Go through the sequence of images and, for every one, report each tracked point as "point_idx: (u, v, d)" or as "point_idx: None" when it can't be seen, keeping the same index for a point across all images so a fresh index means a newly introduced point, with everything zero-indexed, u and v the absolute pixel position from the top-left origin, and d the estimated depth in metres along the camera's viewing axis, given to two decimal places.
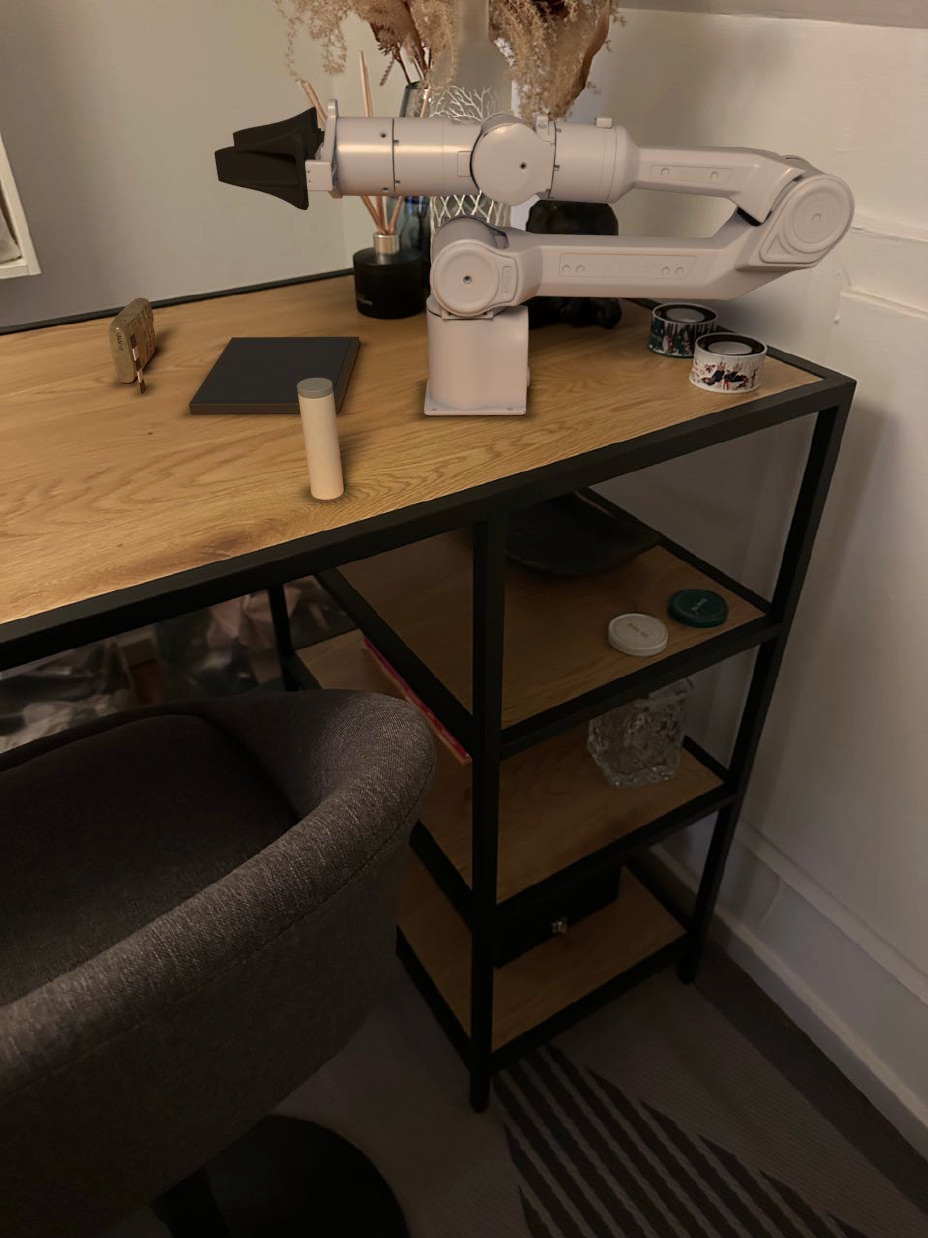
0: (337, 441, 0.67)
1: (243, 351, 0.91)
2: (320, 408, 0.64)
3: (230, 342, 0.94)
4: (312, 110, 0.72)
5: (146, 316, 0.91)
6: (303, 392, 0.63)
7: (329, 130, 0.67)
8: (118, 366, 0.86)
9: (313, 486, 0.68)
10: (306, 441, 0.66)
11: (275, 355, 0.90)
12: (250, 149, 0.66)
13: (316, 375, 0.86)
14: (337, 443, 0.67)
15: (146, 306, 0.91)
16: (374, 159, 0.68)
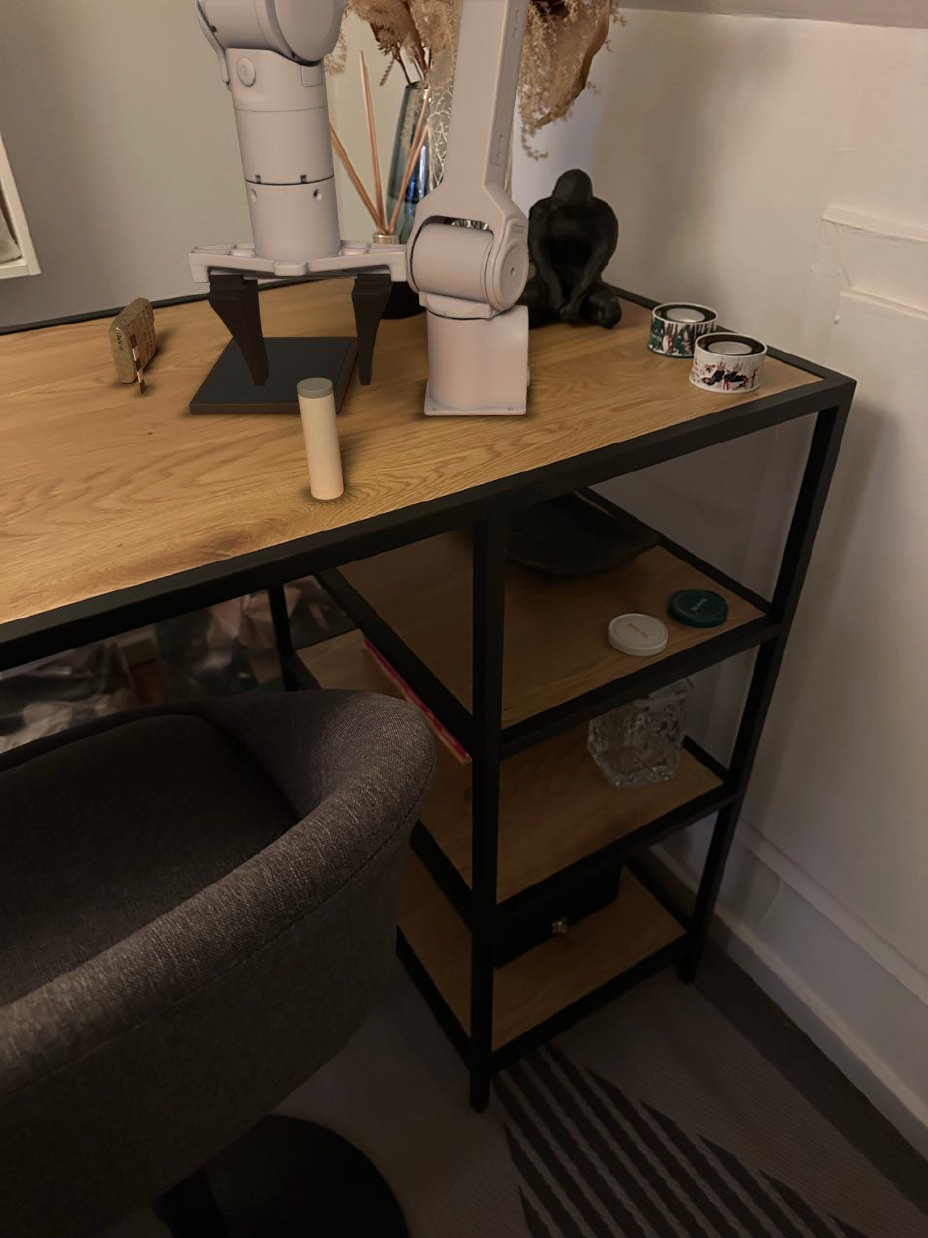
0: (337, 441, 0.67)
1: None
2: (320, 408, 0.64)
3: (230, 342, 0.94)
4: (238, 298, 0.58)
5: (147, 316, 0.91)
6: (303, 392, 0.63)
7: (332, 264, 0.57)
8: (118, 366, 0.86)
9: (313, 486, 0.68)
10: (306, 441, 0.66)
11: (275, 355, 0.90)
12: (372, 347, 0.61)
13: (316, 375, 0.86)
14: (337, 443, 0.67)
15: (147, 306, 0.91)
16: (335, 201, 0.56)
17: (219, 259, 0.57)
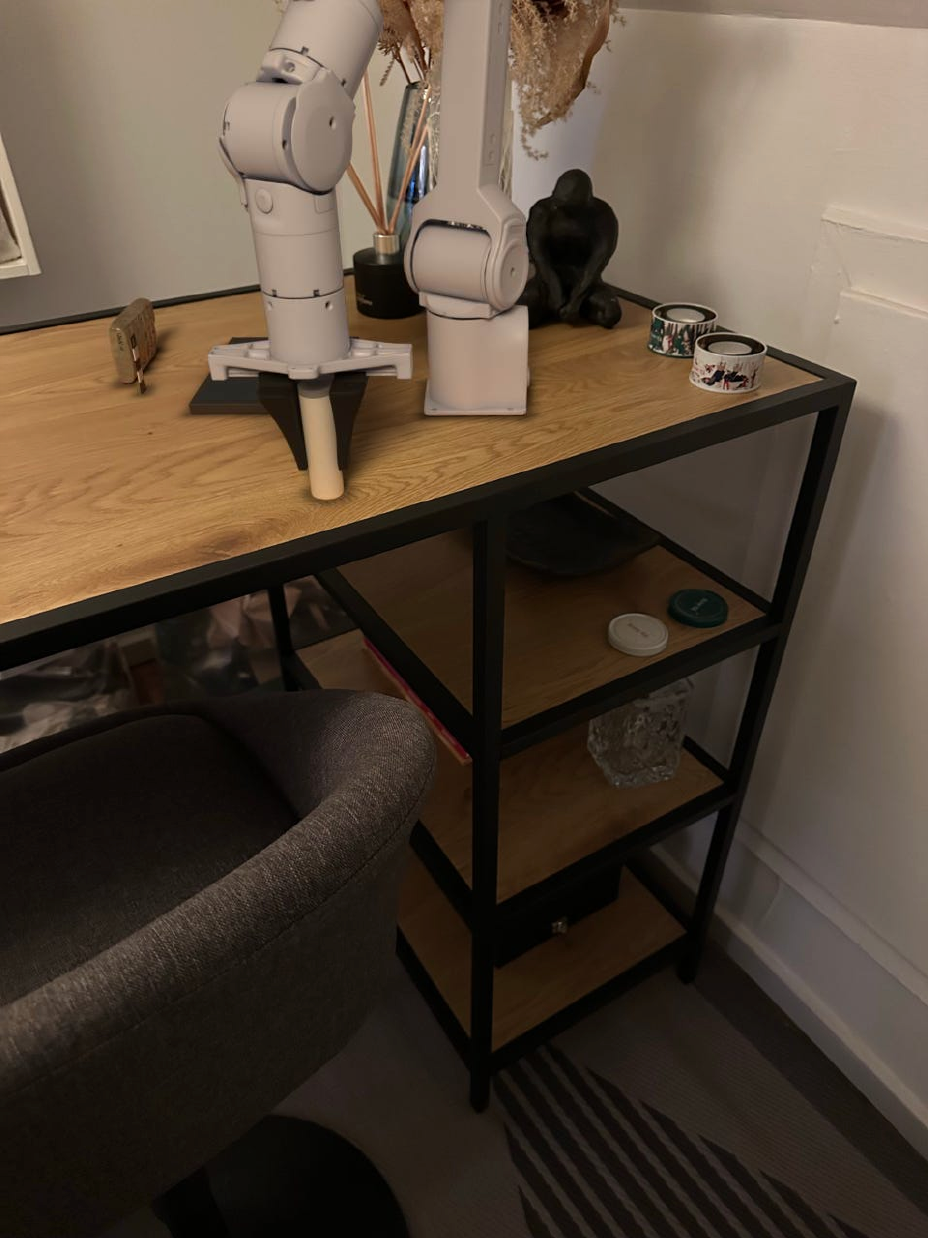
0: None
1: None
2: (321, 408, 0.64)
3: (230, 342, 0.94)
4: (286, 396, 0.62)
5: (147, 316, 0.90)
6: (303, 392, 0.63)
7: (342, 366, 0.61)
8: (118, 366, 0.86)
9: (314, 486, 0.68)
10: (307, 441, 0.66)
11: None
12: (349, 437, 0.65)
13: None
14: None
15: (147, 306, 0.91)
16: (344, 308, 0.60)
17: (237, 360, 0.62)
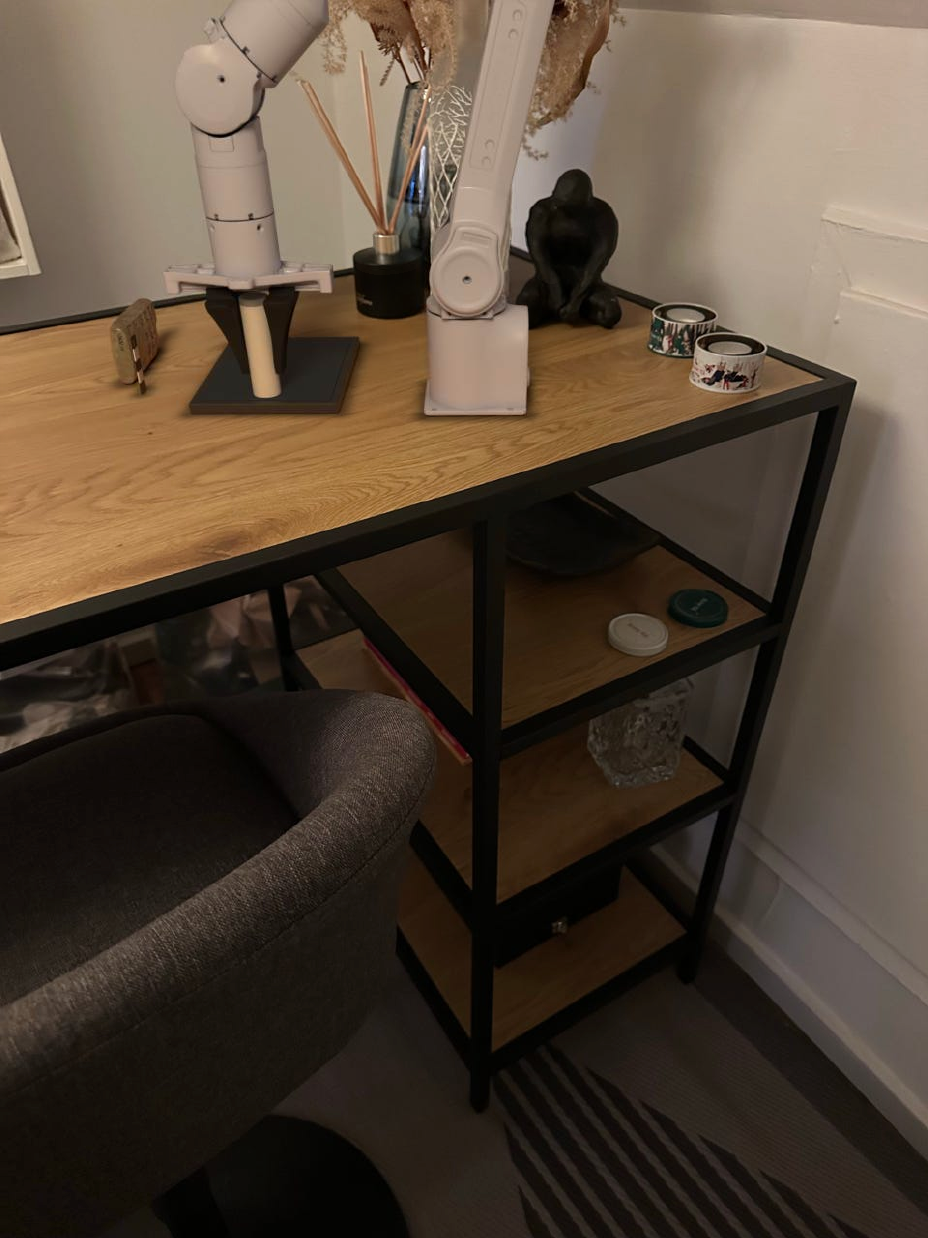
0: None
1: None
2: (258, 315, 0.77)
3: None
4: (228, 306, 0.75)
5: (148, 317, 0.90)
6: (243, 301, 0.77)
7: (273, 280, 0.74)
8: (119, 367, 0.86)
9: (255, 386, 0.81)
10: (247, 345, 0.79)
11: None
12: None
13: (316, 375, 0.86)
14: None
15: (149, 307, 0.91)
16: (275, 232, 0.74)
17: (187, 276, 0.75)
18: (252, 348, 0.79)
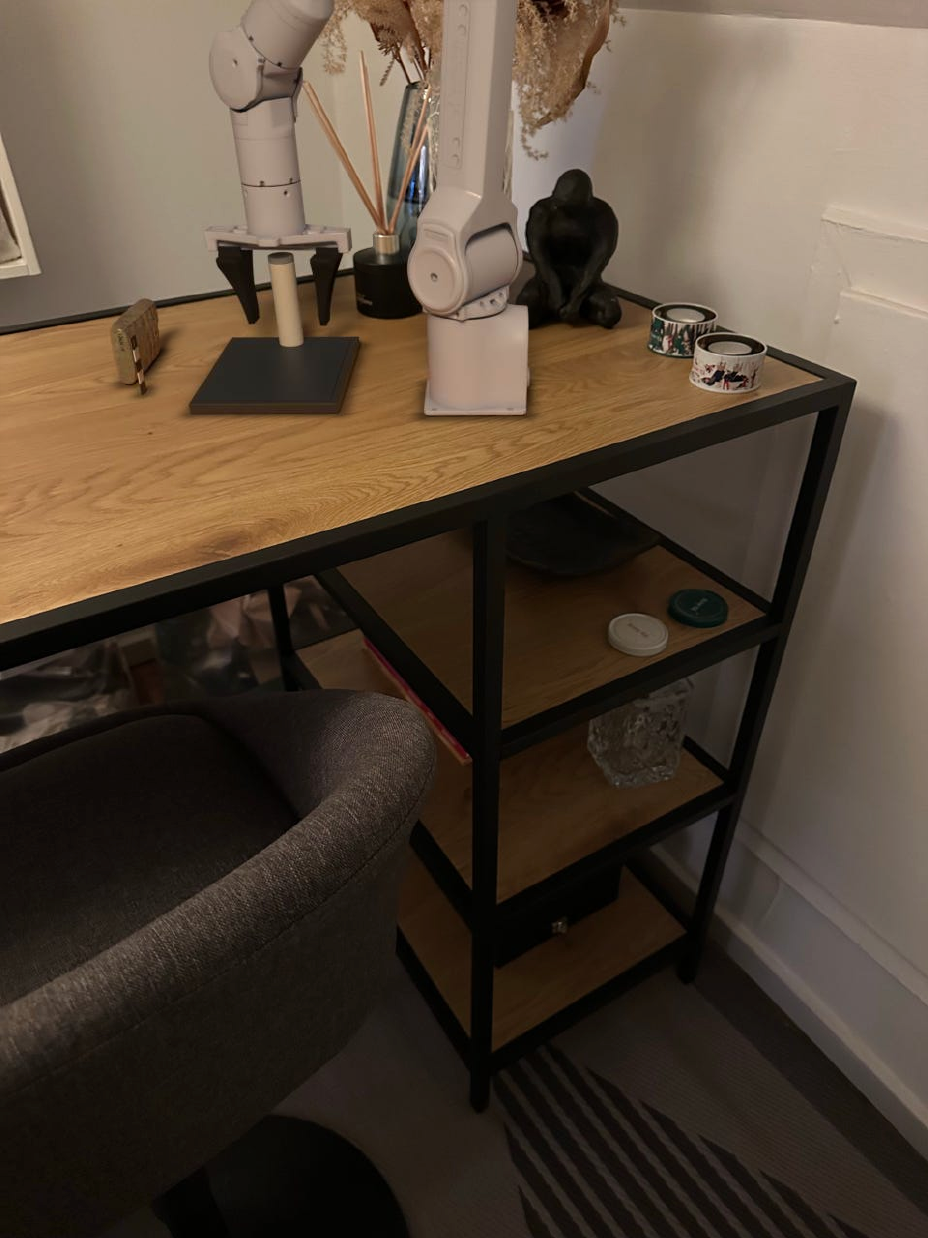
0: (297, 301, 0.90)
1: (243, 351, 0.91)
2: (283, 272, 0.88)
3: (230, 342, 0.94)
4: (235, 261, 0.86)
5: (150, 317, 0.90)
6: (271, 259, 0.87)
7: (297, 240, 0.85)
8: (120, 367, 0.86)
9: (280, 336, 0.92)
10: (274, 299, 0.90)
11: (275, 355, 0.90)
12: (326, 298, 0.89)
13: (316, 375, 0.86)
14: (297, 302, 0.90)
15: (150, 307, 0.91)
16: (300, 197, 0.84)
17: (224, 235, 0.86)
18: (278, 301, 0.90)
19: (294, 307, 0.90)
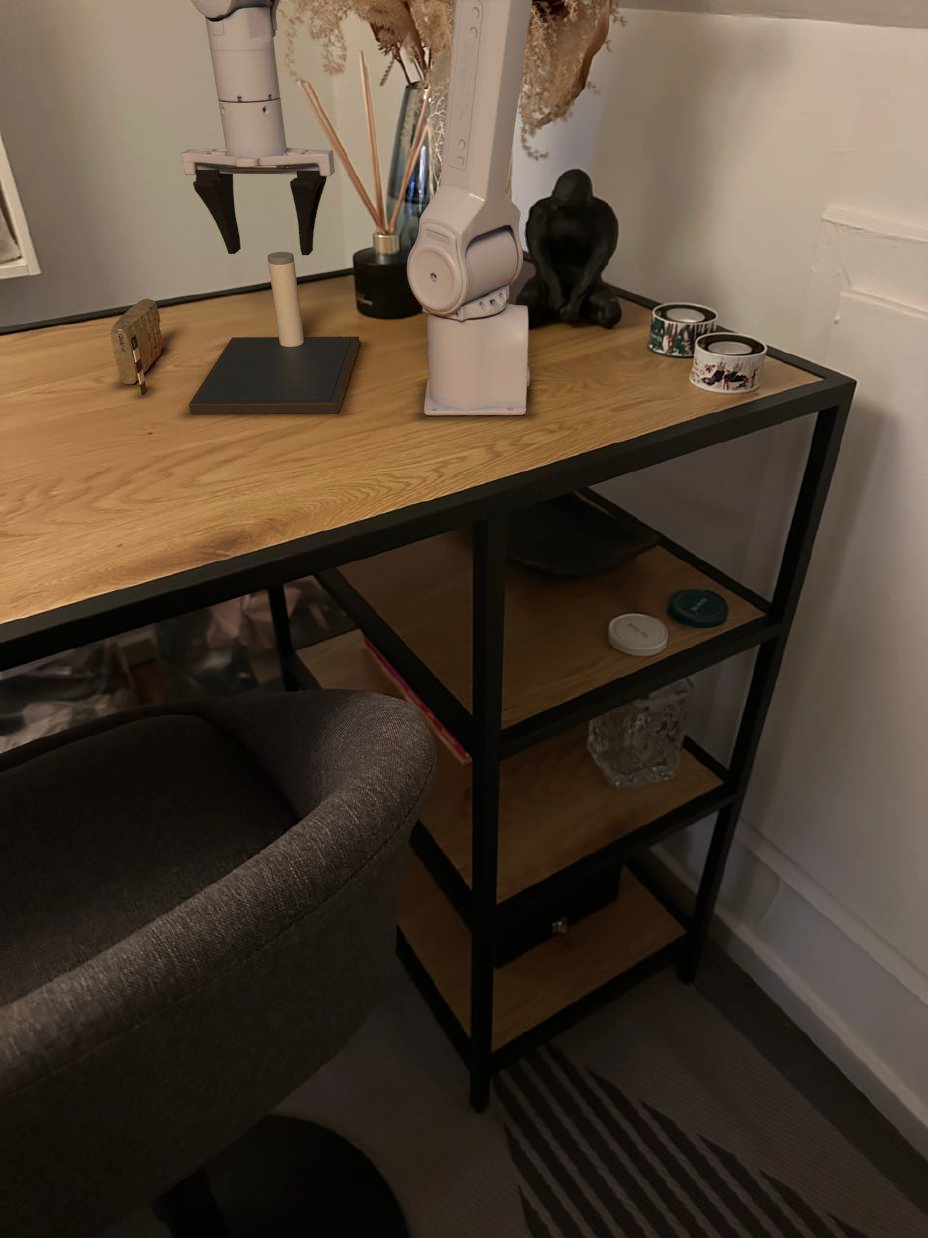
0: (297, 301, 0.90)
1: (243, 351, 0.91)
2: (283, 272, 0.88)
3: (230, 342, 0.94)
4: (213, 184, 0.83)
5: (151, 317, 0.90)
6: (271, 259, 0.87)
7: (277, 161, 0.82)
8: (120, 367, 0.86)
9: (280, 336, 0.92)
10: (274, 299, 0.90)
11: (275, 355, 0.90)
12: (308, 225, 0.86)
13: (316, 375, 0.86)
14: (297, 302, 0.90)
15: (152, 307, 0.91)
16: (280, 116, 0.81)
17: (202, 157, 0.83)
18: (278, 301, 0.90)
19: (294, 307, 0.90)
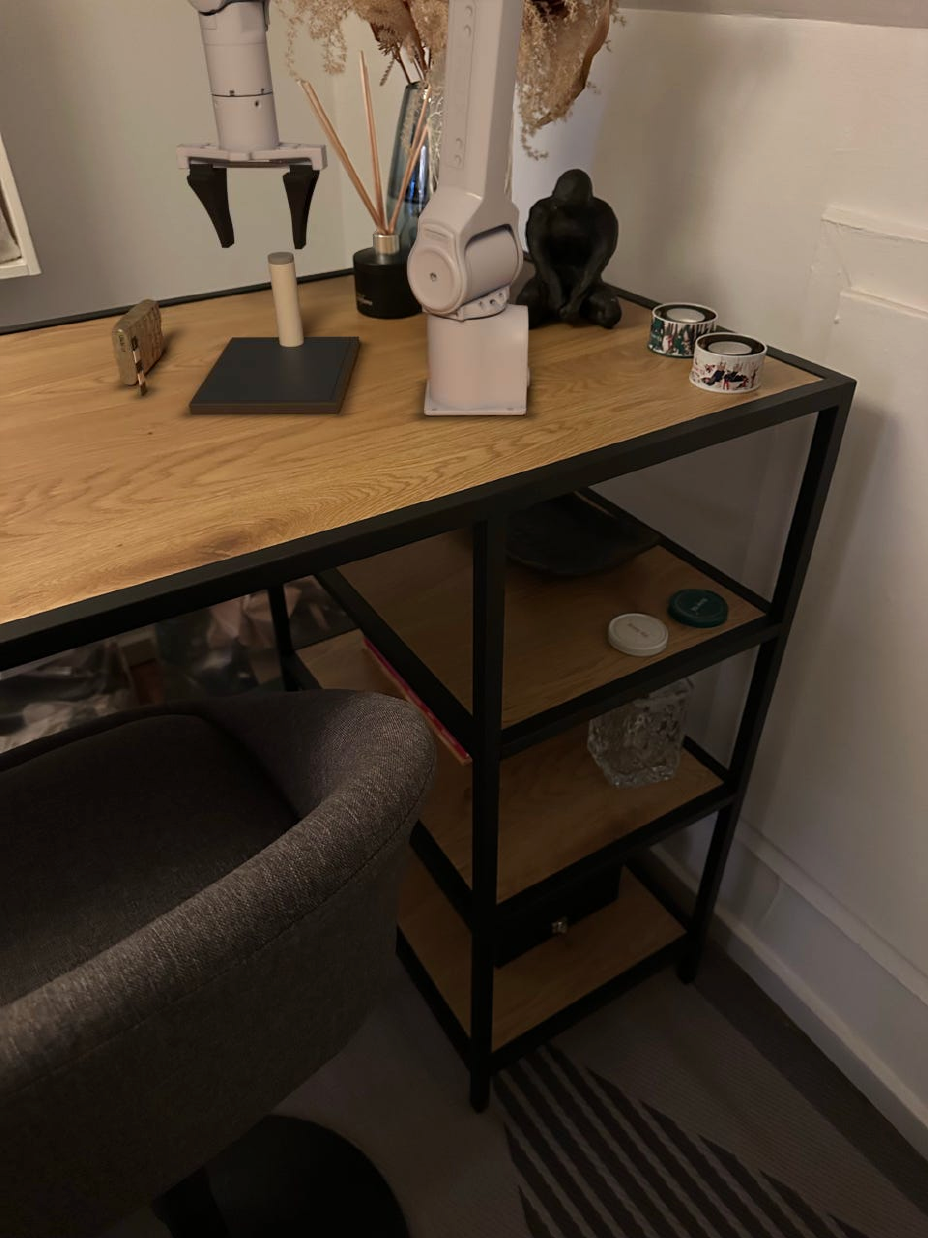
0: (297, 301, 0.90)
1: (243, 351, 0.91)
2: (283, 272, 0.88)
3: (230, 342, 0.94)
4: (206, 178, 0.84)
5: (153, 318, 0.90)
6: (271, 259, 0.87)
7: (269, 155, 0.82)
8: (121, 368, 0.86)
9: (280, 336, 0.92)
10: (274, 299, 0.90)
11: (275, 355, 0.90)
12: (301, 219, 0.86)
13: (316, 375, 0.86)
14: (297, 302, 0.90)
15: (153, 308, 0.90)
16: (272, 110, 0.82)
17: (195, 151, 0.83)
18: (278, 301, 0.90)
19: (294, 307, 0.90)
